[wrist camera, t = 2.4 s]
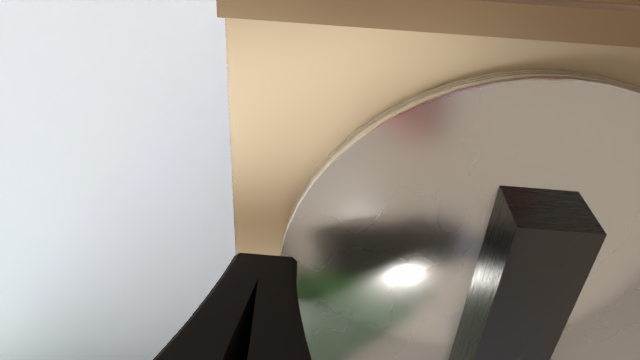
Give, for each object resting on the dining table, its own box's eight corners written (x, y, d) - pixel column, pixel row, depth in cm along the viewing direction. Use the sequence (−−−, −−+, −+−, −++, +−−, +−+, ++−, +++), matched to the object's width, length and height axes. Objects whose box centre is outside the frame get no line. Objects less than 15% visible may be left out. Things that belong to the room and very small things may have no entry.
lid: (632, 423, 15) (666, 493, 14) (279, 391, 16) (269, 456, 14) (850, 90, 10) (956, 140, 8) (284, 49, 10) (270, 89, 8)
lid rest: (595, 330, 20) (660, 460, 16) (264, 301, 20) (239, 422, 16) (776, -29, 13) (986, 30, 9) (261, -64, 13) (215, -24, 9)
